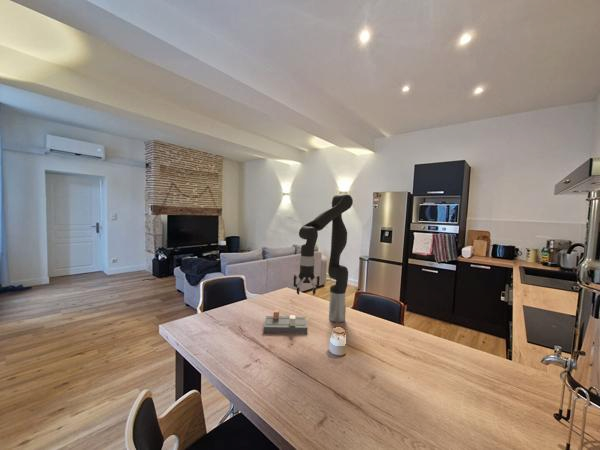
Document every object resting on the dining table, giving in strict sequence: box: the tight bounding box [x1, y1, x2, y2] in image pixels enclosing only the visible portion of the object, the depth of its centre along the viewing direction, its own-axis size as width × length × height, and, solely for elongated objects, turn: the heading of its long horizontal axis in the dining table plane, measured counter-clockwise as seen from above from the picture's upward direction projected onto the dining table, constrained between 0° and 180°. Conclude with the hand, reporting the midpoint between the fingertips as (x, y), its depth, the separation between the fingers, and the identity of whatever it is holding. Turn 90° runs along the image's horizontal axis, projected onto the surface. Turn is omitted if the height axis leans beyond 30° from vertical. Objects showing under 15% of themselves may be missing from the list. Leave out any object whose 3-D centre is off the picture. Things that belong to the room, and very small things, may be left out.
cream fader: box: [289, 314, 296, 326], centre depth 134 cm, size 3×4×4 cm
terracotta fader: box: [273, 308, 280, 319], centre depth 142 cm, size 3×4×4 cm
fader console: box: [263, 315, 308, 334], centre depth 138 cm, size 23×14×3 cm, turn 93°
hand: (305, 294), depth 134 cm, fingers open, 7 cm apart
